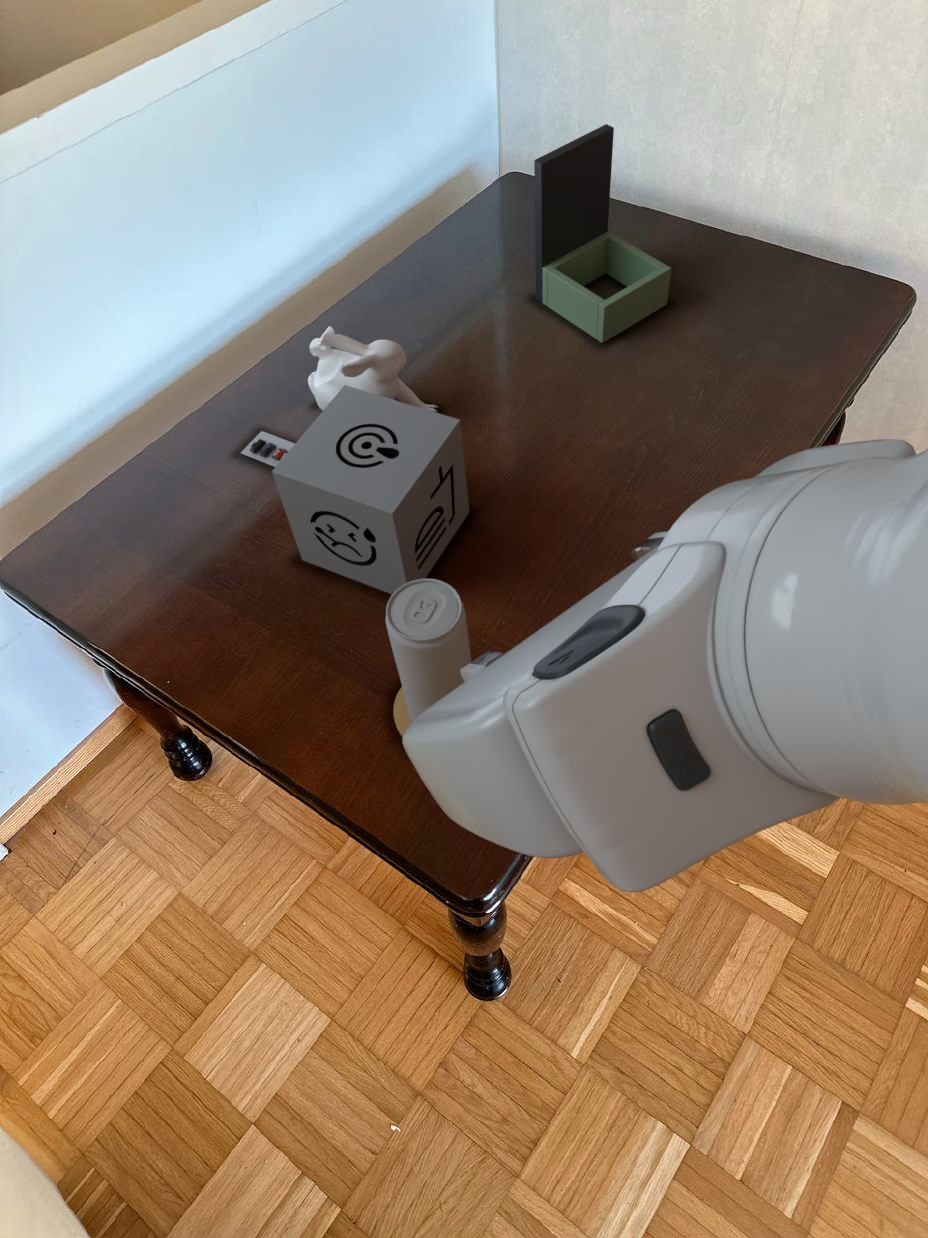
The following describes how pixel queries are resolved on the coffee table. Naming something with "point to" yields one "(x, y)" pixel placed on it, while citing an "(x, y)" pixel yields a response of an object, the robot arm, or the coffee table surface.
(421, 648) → the beverage can
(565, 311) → the stand
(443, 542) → the icon cube
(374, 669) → the coffee table surface
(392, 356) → the rabbit figurine
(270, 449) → the toy car tray
